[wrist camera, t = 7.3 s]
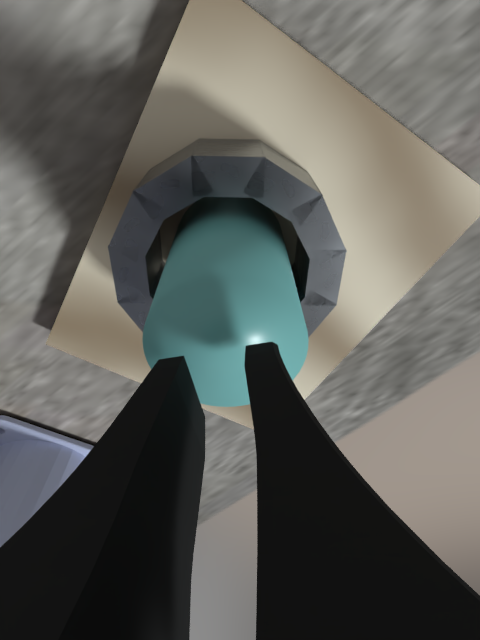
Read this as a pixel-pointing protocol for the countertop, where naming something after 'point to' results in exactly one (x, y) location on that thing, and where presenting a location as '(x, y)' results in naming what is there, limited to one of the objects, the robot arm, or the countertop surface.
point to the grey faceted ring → (227, 181)
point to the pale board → (328, 174)
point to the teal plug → (225, 298)
